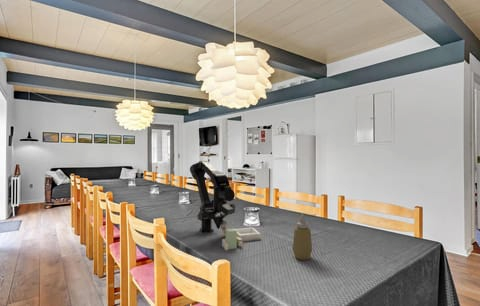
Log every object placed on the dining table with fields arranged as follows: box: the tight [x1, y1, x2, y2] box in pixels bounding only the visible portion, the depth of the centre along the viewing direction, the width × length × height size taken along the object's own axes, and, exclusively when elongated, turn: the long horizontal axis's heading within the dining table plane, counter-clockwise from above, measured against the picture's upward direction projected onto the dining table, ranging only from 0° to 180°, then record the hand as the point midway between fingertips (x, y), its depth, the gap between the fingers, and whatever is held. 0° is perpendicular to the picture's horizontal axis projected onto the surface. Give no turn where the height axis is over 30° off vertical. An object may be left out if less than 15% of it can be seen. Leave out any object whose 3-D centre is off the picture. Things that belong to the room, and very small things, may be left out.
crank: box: [220, 219, 243, 245], centre depth 135 cm, size 22×3×6 cm, turn 29°
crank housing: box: [221, 237, 238, 251], centre depth 130 cm, size 14×10×3 cm
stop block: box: [225, 227, 237, 250], centre depth 125 cm, size 4×4×8 cm
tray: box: [234, 227, 262, 242], centre depth 140 cm, size 11×11×3 cm
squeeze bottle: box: [292, 213, 313, 261], centre depth 114 cm, size 8×8×18 cm
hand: (218, 228), depth 140 cm, fingers closed
